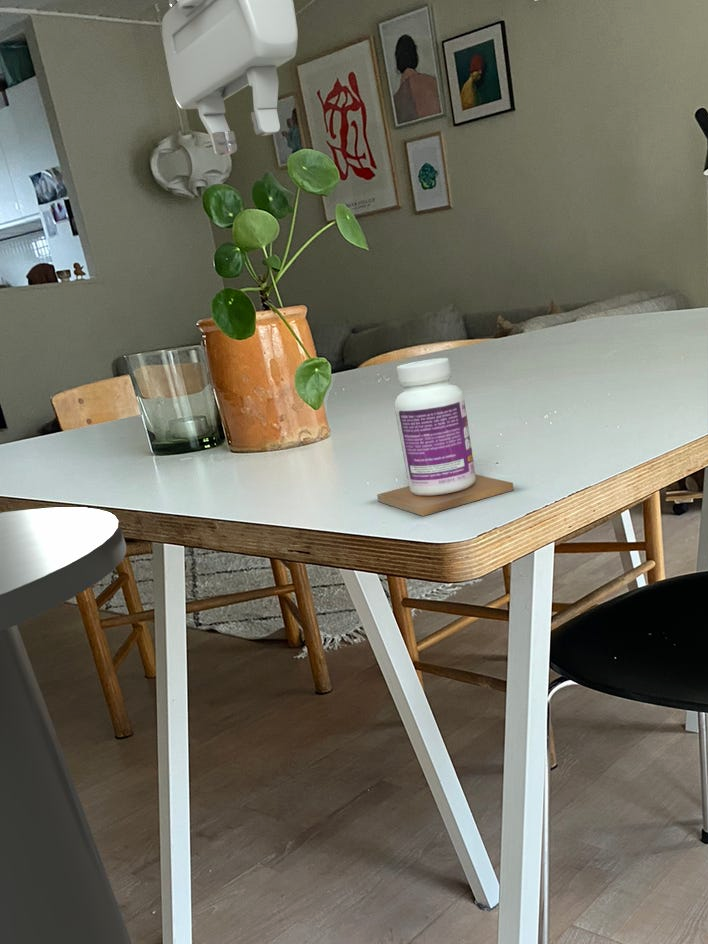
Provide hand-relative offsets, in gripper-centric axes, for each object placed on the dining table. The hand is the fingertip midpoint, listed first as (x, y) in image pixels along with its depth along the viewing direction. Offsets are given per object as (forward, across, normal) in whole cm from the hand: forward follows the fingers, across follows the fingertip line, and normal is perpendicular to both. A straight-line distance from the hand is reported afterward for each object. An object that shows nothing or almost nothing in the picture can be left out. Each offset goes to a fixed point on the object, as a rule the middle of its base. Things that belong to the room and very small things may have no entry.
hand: (246, 144), depth 83 cm
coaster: (+29, +26, -2) cm, 39 cm away
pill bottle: (+29, +26, -2) cm, 39 cm away
